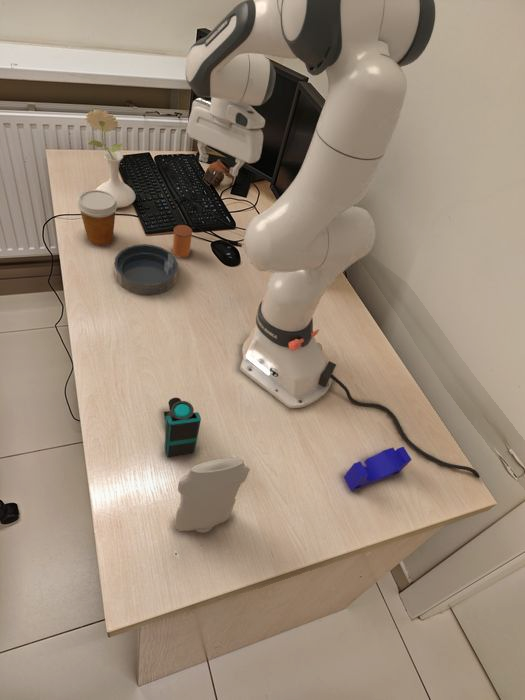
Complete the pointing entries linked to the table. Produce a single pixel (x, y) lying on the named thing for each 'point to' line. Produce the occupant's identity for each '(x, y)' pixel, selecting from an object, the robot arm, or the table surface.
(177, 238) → the copper tin
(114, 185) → the flower in vase
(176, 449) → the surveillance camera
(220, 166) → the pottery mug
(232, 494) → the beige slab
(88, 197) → the disposable coffee cup
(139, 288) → the bowl
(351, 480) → the blue toy truck
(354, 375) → the table surface
